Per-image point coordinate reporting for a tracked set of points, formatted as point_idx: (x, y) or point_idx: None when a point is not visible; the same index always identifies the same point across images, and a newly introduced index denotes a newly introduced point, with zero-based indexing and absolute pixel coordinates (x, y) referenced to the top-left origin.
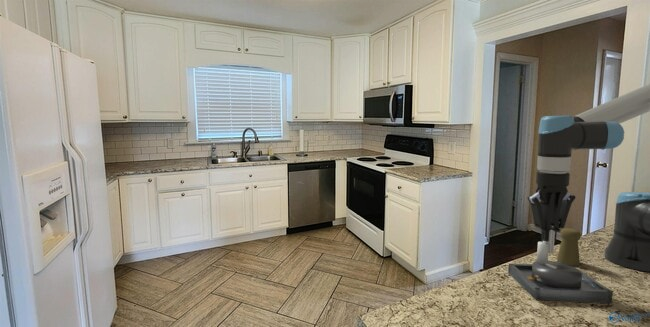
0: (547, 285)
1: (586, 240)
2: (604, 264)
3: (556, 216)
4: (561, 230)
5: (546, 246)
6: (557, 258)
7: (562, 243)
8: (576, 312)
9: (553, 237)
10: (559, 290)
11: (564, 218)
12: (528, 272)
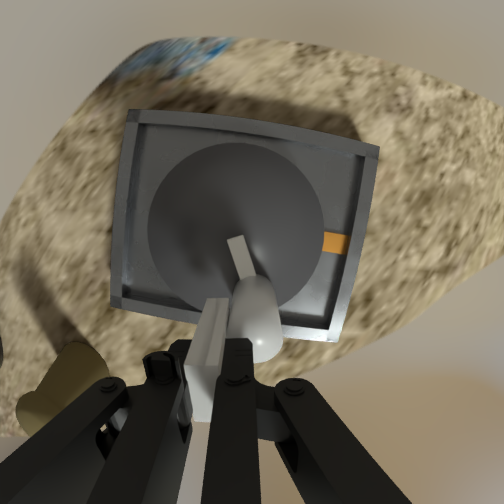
0: None
1: (9, 426)
2: (16, 331)
3: (141, 462)
4: None
5: (255, 309)
6: None
7: None
8: (292, 77)
9: (200, 340)
10: (304, 129)
11: (67, 427)
12: None
